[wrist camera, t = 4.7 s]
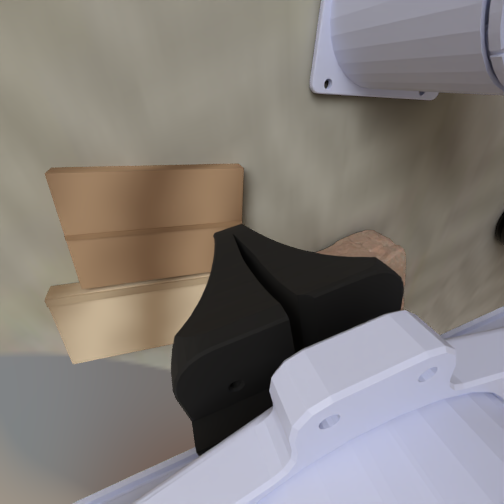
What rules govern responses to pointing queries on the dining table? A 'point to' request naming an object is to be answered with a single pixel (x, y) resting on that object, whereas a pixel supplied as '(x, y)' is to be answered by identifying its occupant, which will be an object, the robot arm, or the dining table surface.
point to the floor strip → (123, 314)
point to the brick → (371, 250)
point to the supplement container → (500, 230)
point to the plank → (144, 218)
